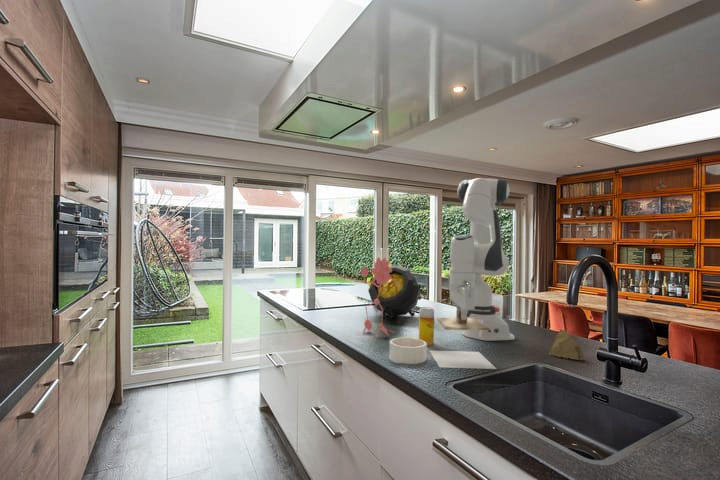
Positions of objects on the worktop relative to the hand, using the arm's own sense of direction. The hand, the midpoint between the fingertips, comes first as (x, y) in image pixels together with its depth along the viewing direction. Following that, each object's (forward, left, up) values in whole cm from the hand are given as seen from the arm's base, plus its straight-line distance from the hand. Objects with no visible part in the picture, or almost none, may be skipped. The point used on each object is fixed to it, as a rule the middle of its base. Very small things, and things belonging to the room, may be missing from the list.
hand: (461, 317), depth 133 cm
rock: (-42, -7, -16) cm, 45 cm away
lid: (0, 0, -2) cm, 2 cm away
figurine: (+27, -36, -15) cm, 47 cm away
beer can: (+9, -20, -15) cm, 27 cm away
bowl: (+19, 0, -15) cm, 24 cm away
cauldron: (+17, -76, -16) cm, 79 cm away
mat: (0, 0, -15) cm, 15 cm away
